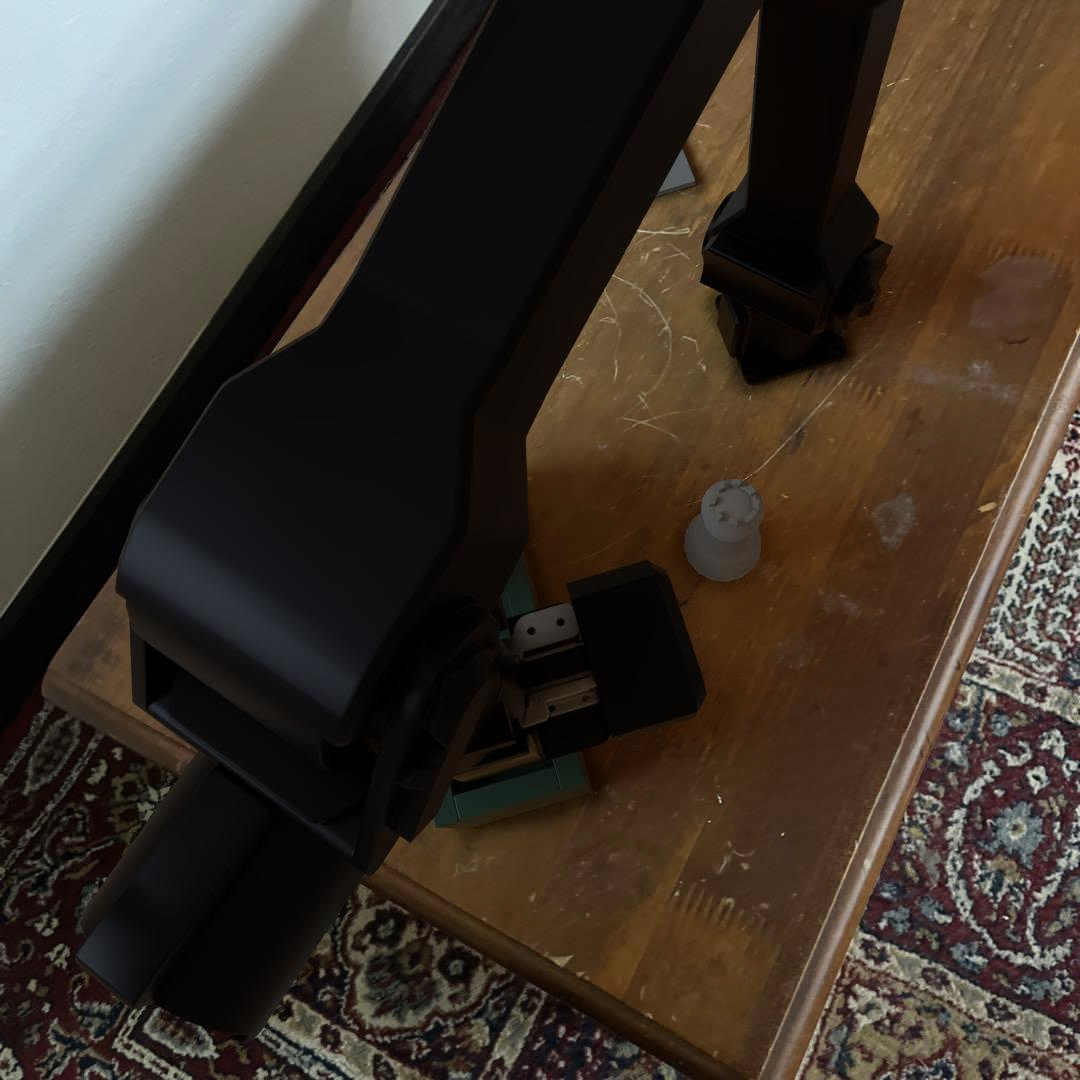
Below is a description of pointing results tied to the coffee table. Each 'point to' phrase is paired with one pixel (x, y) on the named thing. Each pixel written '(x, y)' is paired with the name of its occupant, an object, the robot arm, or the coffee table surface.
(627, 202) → the robot arm
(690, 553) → the rook chess piece
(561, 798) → the rack
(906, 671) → the coffee table surface
